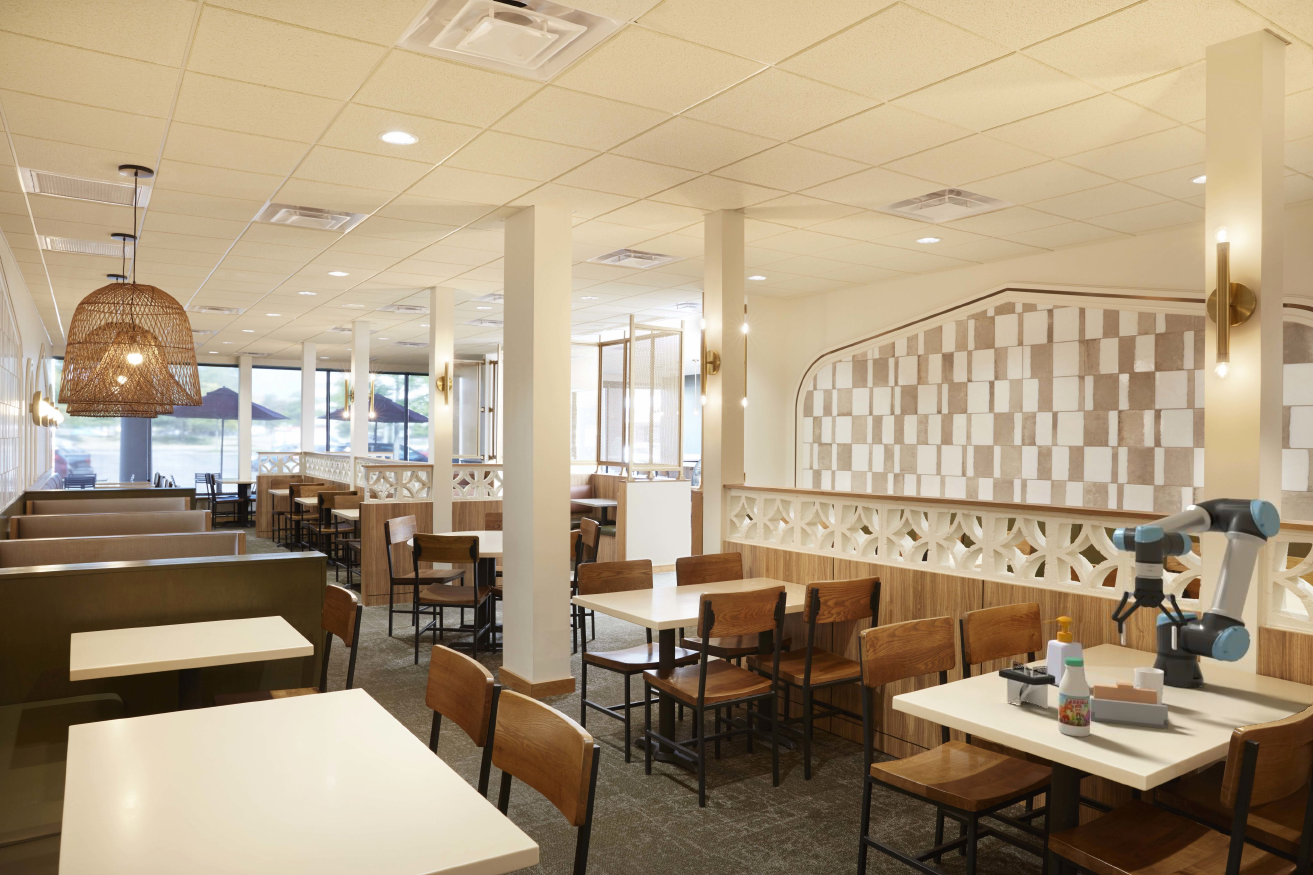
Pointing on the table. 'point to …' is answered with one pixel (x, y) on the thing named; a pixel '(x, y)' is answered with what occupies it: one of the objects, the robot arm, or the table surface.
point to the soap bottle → (1062, 650)
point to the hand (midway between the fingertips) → (1148, 646)
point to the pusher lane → (1129, 713)
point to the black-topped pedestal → (1027, 684)
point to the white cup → (1150, 680)
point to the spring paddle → (1125, 693)
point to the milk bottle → (1074, 700)
